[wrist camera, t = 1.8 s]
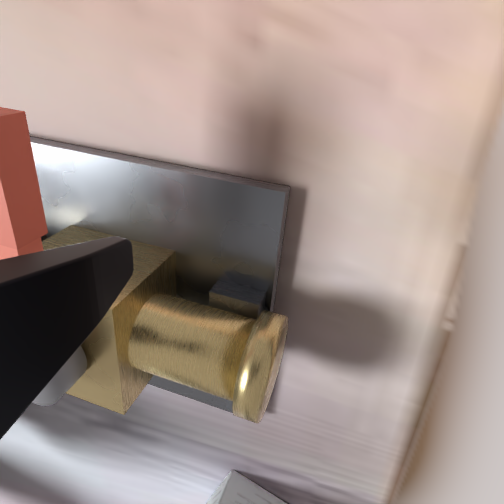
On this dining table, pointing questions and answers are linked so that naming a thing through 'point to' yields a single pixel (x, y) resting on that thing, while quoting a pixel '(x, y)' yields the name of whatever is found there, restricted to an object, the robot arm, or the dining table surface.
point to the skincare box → (241, 492)
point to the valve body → (174, 276)
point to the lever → (27, 225)
